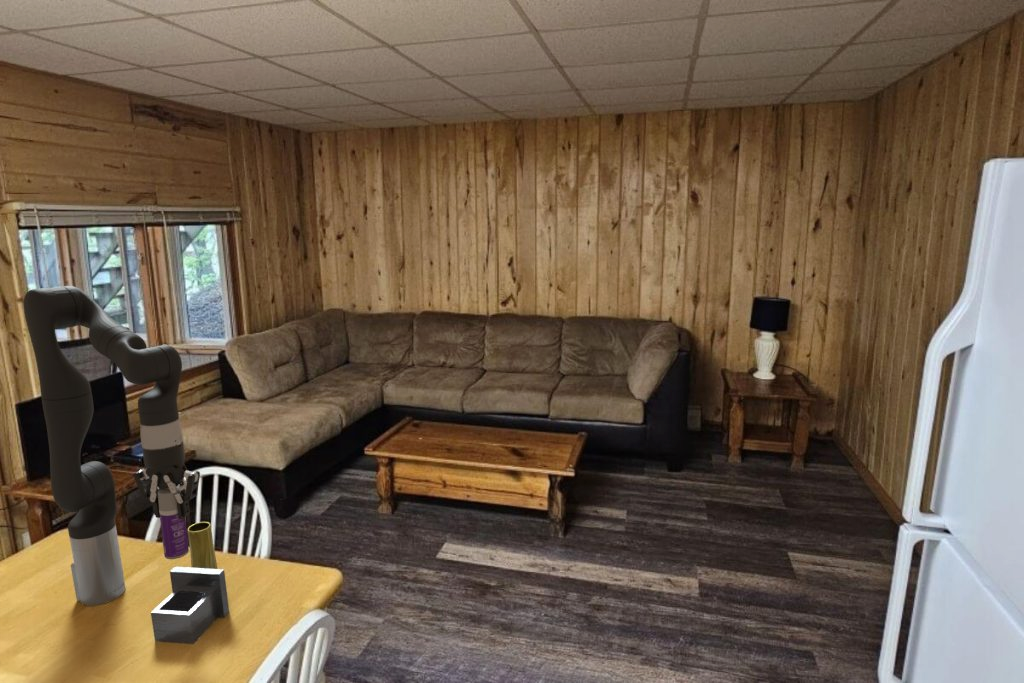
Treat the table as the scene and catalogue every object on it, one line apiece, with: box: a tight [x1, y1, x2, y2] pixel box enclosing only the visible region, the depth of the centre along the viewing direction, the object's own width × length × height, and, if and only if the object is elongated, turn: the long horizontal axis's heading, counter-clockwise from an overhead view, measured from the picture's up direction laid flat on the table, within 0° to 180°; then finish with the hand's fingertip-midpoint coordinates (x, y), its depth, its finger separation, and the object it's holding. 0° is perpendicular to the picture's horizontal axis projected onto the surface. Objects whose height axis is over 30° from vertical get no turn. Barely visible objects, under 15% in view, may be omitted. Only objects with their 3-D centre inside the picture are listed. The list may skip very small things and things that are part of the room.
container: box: [158, 485, 190, 560], centre depth 132 cm, size 5×5×15 cm
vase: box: [186, 521, 219, 569], centre depth 155 cm, size 6×6×14 cm
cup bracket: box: [150, 566, 230, 645], centre depth 137 cm, size 12×11×11 cm
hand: (172, 516), depth 132 cm, fingers closed on container, 4 cm apart
